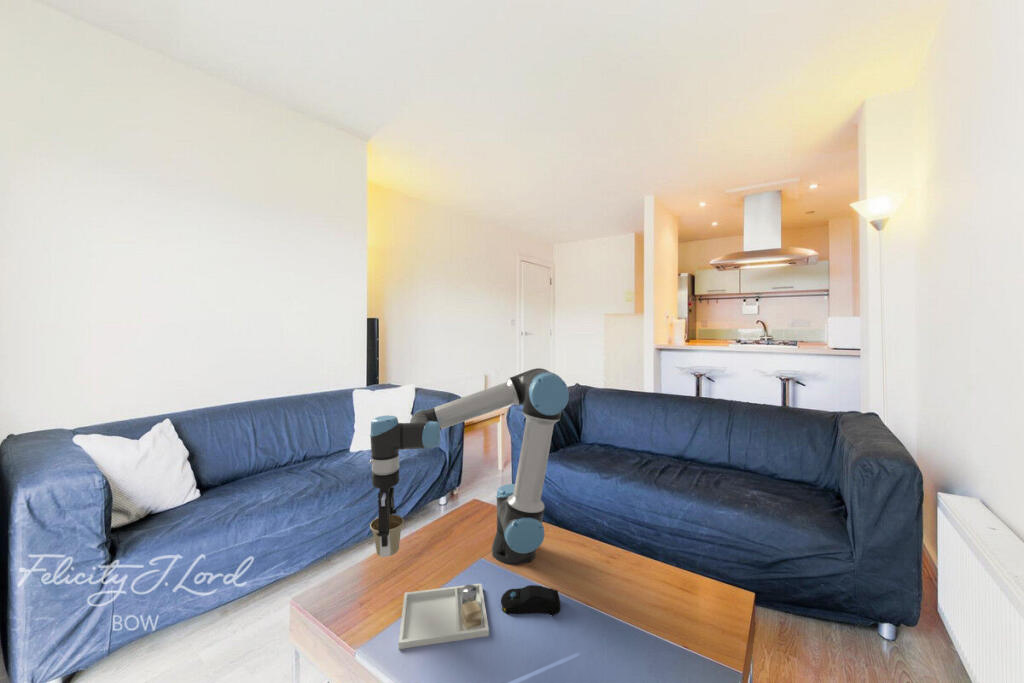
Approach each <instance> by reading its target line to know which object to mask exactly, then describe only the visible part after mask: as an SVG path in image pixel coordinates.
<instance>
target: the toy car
mask: <svg viewBox="0 0 1024 683" xmlns="http://www.w3.org/2000/svg"><path fill="white" fill-rule="evenodd" d="M500 603H501V611H502V612H503V613H504V614H506V615H510V614H513V615H514V614H515V615H524V614H527V615H528V614H545V615H547V614H549V616H551V615H553V616H554V614H557V613H559V612H560V611H561V606H562V605H561V601H560V594H559V591H558V590H557V589H554V588H551V587H550V588H549V587H547V586H541V585H537V584H535V585H533V584H531V585H530V584H529V585H526V586H524V587H521V588H519V587H518V588H510V589H508V590H506V591H505V592H504V593H503V594H502V596H501V598H500Z"/></svg>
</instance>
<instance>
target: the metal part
mask: <svg viewBox="0 0 1024 683" xmlns="http://www.w3.org/2000/svg"><path fill="white" fill-rule="evenodd" d="M463 586H464V585H463ZM475 600H477V588H476V587H475V586H474V585H472V584H466V586H464V587H463V589H462V604H465V603H468V602H471V601H475Z"/></svg>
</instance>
